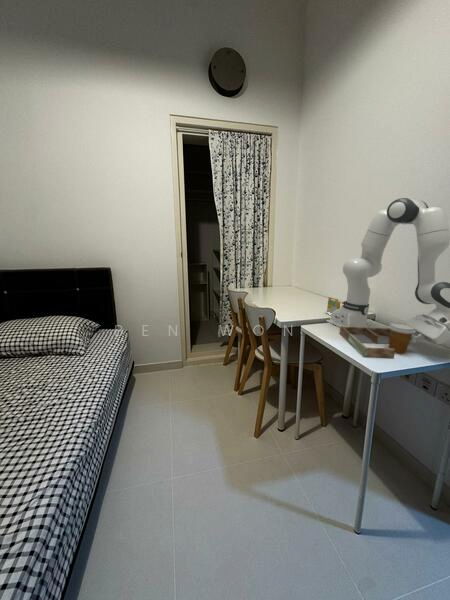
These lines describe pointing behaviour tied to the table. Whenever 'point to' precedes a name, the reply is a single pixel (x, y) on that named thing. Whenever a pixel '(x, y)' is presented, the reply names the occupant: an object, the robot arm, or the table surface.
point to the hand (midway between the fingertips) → (410, 340)
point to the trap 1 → (363, 338)
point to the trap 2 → (383, 339)
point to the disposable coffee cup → (400, 337)
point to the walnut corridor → (373, 336)
